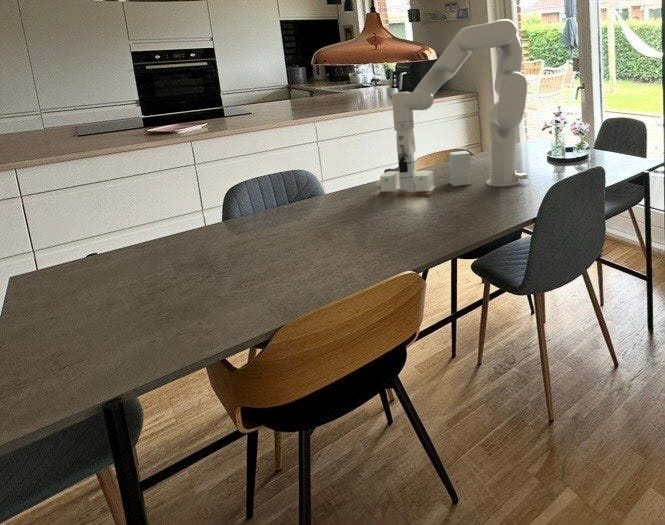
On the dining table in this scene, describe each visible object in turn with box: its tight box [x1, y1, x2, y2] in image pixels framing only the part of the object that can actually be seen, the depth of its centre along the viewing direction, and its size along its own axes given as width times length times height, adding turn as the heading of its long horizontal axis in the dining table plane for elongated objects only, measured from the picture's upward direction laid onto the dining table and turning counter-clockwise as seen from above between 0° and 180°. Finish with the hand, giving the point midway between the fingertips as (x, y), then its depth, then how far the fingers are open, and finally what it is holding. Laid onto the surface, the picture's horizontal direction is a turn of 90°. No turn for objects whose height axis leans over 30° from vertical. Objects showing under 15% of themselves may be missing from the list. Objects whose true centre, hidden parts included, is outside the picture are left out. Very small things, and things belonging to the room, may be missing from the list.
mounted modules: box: [379, 170, 435, 191], centre depth 224 cm, size 19×9×6 cm, turn 67°
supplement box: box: [448, 150, 472, 187], centre depth 230 cm, size 7×7×13 cm
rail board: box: [377, 185, 438, 198], centre depth 226 cm, size 21×12×2 cm, turn 67°
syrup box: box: [397, 153, 416, 190], centre depth 223 cm, size 6×6×14 cm
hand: (407, 169), depth 223 cm, fingers open, 9 cm apart
